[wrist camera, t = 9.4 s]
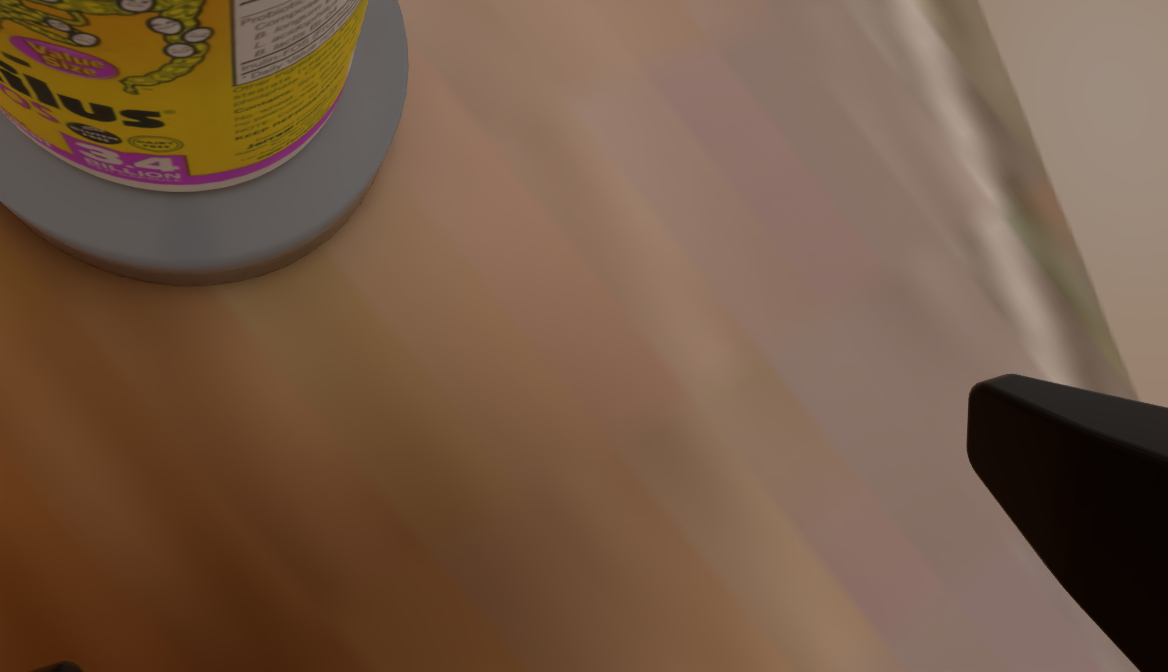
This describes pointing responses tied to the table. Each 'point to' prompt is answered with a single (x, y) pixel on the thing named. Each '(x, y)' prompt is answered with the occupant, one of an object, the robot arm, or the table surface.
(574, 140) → the table surface
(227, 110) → the supplement bottle
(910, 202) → the table surface
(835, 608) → the table surface
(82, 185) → the puck
